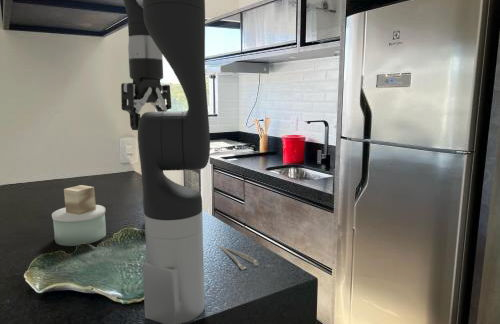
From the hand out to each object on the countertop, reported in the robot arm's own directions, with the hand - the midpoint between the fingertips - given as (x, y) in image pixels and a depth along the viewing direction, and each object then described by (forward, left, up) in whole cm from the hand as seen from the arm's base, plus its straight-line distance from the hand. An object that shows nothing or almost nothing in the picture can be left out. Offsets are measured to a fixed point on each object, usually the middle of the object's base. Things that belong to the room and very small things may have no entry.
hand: (149, 128), depth 88 cm
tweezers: (+2, -21, -29) cm, 36 cm away
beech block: (-6, +19, -21) cm, 29 cm away
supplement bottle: (+11, +9, -28) cm, 32 cm away
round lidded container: (-6, +19, -28) cm, 35 cm away
